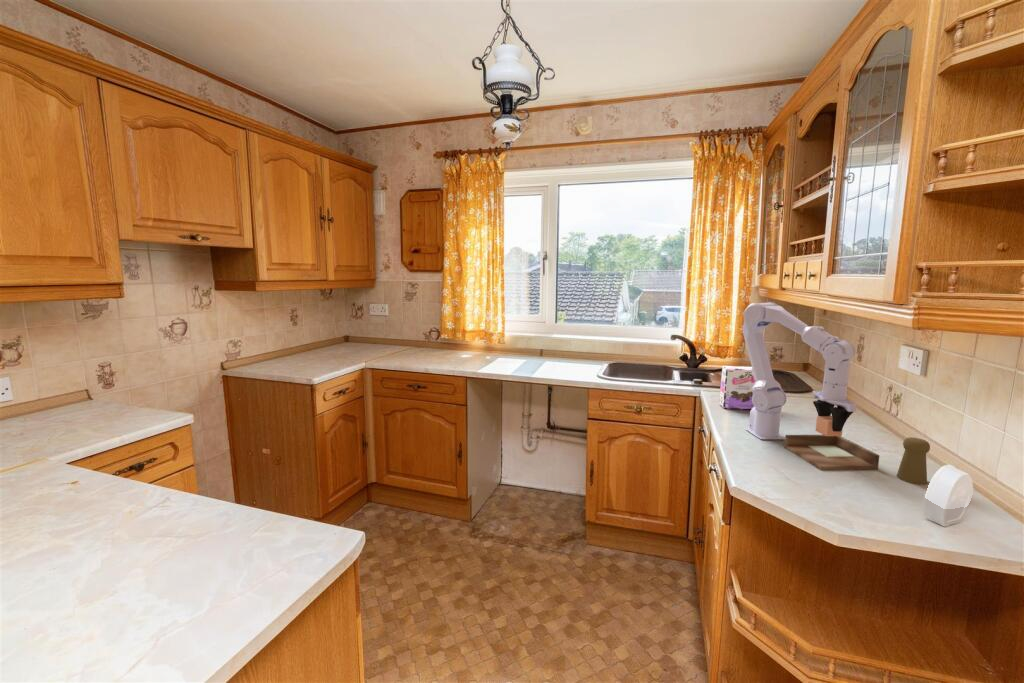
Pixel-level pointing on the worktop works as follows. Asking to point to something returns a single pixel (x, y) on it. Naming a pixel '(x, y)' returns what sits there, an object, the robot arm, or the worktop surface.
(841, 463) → the arena
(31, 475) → the worktop surface
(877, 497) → the worktop surface
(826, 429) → the cube
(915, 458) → the cork
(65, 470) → the worktop surface
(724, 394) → the candy box
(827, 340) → the robot arm
